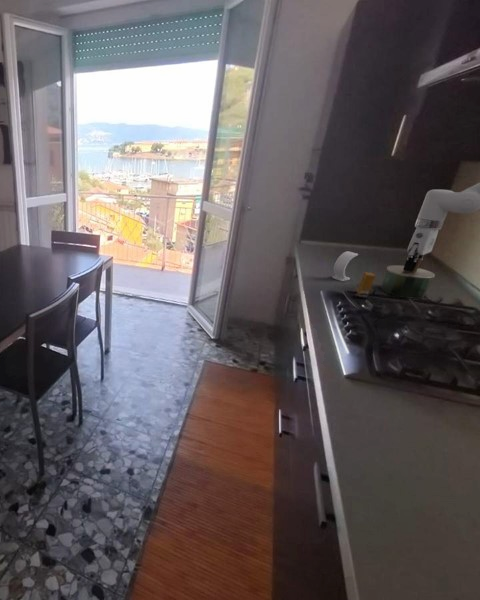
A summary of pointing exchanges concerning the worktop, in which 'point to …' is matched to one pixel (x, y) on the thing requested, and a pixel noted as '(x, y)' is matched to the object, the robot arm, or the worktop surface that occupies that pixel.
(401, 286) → the lunch tin
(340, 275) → the headphone stand
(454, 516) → the worktop surface
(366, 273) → the supplement box
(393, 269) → the tin lid
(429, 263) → the worktop surface
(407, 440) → the worktop surface
